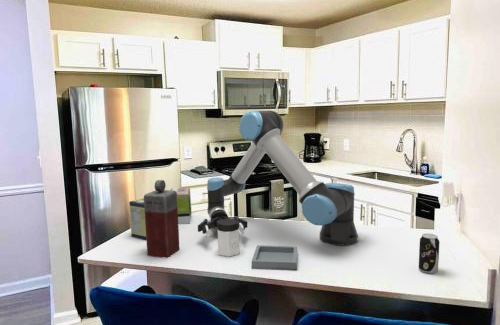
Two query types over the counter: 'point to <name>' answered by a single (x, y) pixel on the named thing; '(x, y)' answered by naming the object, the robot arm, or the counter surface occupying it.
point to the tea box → (183, 205)
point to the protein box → (137, 218)
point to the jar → (228, 237)
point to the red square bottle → (161, 221)
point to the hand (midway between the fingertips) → (225, 232)
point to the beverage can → (429, 253)
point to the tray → (275, 257)
